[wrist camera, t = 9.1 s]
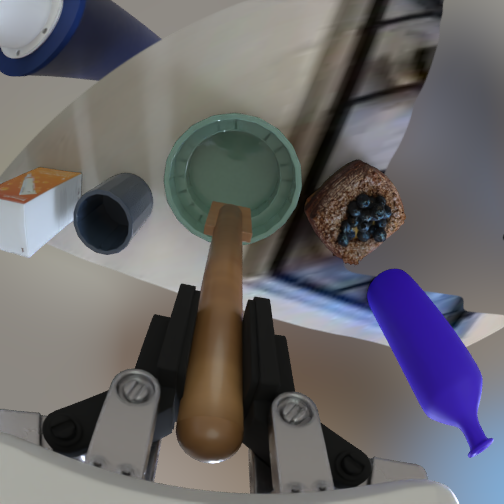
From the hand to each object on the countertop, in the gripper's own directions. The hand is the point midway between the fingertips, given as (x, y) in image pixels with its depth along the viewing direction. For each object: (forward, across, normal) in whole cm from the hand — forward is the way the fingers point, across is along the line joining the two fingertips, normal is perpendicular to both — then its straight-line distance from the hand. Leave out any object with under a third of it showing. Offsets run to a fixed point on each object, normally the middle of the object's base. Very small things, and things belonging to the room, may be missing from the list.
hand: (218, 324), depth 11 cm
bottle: (+27, -27, +12) cm, 40 cm away
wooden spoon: (+13, 0, 0) cm, 13 cm away
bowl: (+27, 0, 0) cm, 27 cm away
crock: (+27, +13, +6) cm, 30 cm away
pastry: (+27, -16, +1) cm, 31 cm away
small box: (+27, +24, +6) cm, 37 cm away
